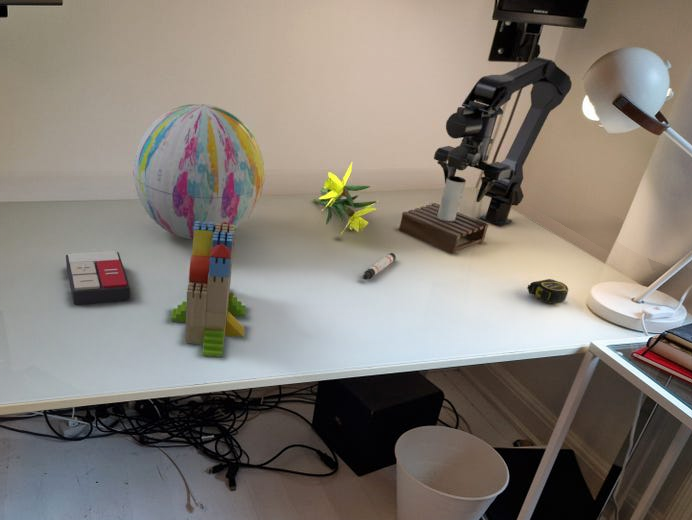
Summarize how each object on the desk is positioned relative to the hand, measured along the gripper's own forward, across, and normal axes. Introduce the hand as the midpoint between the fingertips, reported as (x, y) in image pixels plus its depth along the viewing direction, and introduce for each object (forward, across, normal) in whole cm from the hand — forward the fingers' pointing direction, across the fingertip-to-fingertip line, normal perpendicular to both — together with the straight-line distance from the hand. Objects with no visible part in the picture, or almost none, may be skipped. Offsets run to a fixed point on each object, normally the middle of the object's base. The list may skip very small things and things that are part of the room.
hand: (462, 195), depth 166 cm
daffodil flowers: (+10, -22, -24) cm, 34 cm away
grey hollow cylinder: (+5, 0, -5) cm, 7 cm away
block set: (+10, -1, -81) cm, 82 cm away
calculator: (+10, -22, -93) cm, 96 cm away
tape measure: (+10, +34, -13) cm, 37 cm away
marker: (+10, +4, -36) cm, 38 cm away
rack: (+10, 0, -5) cm, 11 cm away
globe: (+10, -33, -60) cm, 69 cm away
